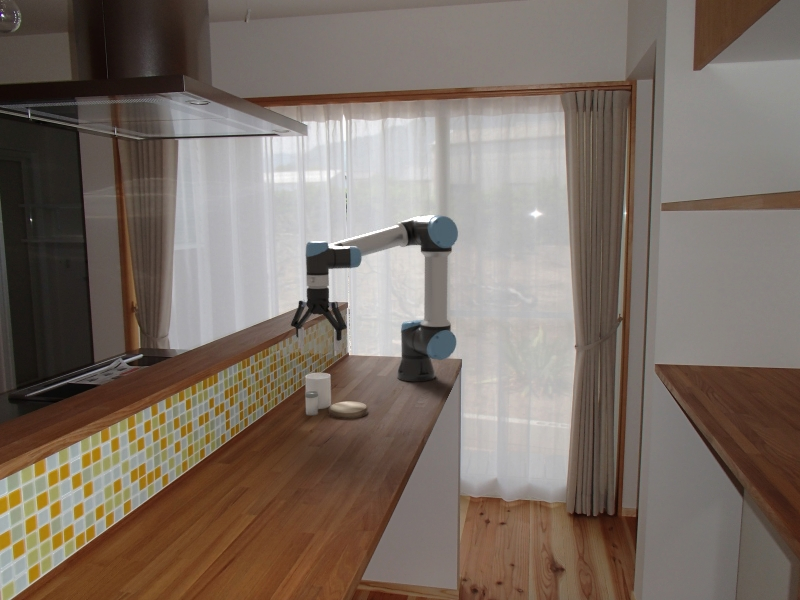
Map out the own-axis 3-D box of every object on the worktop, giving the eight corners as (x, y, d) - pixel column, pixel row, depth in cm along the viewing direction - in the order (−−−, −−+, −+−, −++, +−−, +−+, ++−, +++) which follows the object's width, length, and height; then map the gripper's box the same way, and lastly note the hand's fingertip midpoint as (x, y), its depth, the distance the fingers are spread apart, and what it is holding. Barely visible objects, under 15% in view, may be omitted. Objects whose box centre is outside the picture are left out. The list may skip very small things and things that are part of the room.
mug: (338, 400, 233) (338, 371, 231) (325, 410, 221) (324, 379, 220) (316, 398, 235) (315, 369, 234) (301, 408, 224) (301, 377, 222)
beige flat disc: (339, 405, 227) (339, 399, 227) (373, 408, 223) (373, 403, 223) (321, 416, 215) (321, 410, 215) (358, 420, 211) (357, 414, 211)
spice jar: (309, 410, 221) (308, 390, 220) (320, 412, 220) (320, 392, 219) (303, 414, 217) (302, 394, 216) (314, 415, 216) (314, 395, 215)
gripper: (280, 286, 223) (281, 347, 226) (346, 289, 215) (347, 353, 218) (291, 284, 230) (292, 343, 233) (355, 287, 222) (356, 348, 225)
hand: (318, 348), depth 225 cm, fingers open, 13 cm apart
